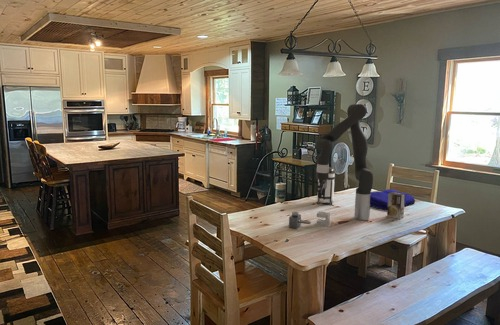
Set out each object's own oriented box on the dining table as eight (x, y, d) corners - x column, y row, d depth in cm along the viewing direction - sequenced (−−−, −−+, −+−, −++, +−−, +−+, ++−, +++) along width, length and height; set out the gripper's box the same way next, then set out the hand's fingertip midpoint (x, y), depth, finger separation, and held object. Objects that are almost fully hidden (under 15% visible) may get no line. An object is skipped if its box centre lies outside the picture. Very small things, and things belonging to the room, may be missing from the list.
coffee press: (310, 201, 288) (311, 163, 283) (327, 199, 294) (329, 162, 290) (323, 207, 273) (324, 167, 268) (341, 205, 279) (343, 165, 274)
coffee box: (403, 217, 252) (405, 193, 250) (400, 219, 248) (401, 195, 245) (390, 214, 259) (392, 191, 256) (386, 216, 254) (388, 193, 251)
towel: (415, 204, 287) (416, 192, 285) (389, 212, 265) (390, 200, 264) (385, 197, 307) (385, 186, 306) (358, 203, 285) (359, 192, 284)
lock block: (329, 224, 236) (330, 212, 235) (328, 226, 232) (328, 215, 230) (318, 222, 239) (318, 211, 238) (316, 225, 235) (316, 213, 233)
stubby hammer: (311, 227, 230) (312, 213, 229) (308, 231, 223) (308, 216, 222) (293, 224, 235) (293, 210, 234) (288, 228, 228) (289, 213, 226)
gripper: (325, 173, 225) (324, 200, 228) (331, 170, 237) (330, 195, 240) (313, 172, 228) (312, 198, 231) (319, 169, 241) (318, 193, 243)
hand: (321, 196), depth 235 cm, fingers open, 8 cm apart
